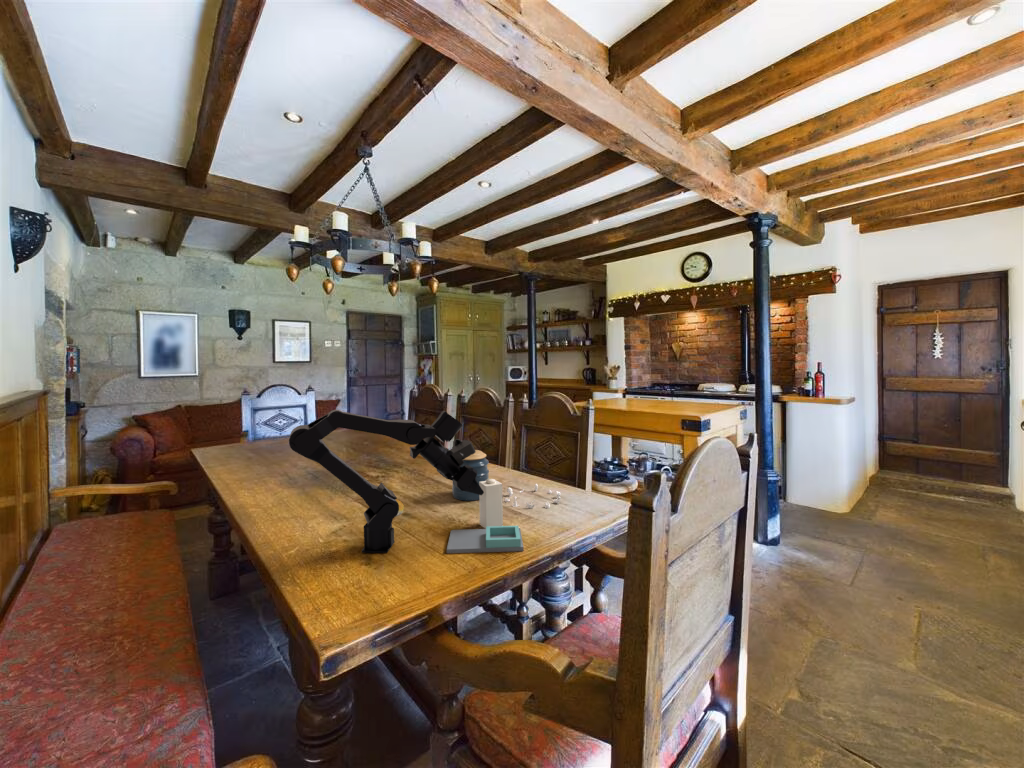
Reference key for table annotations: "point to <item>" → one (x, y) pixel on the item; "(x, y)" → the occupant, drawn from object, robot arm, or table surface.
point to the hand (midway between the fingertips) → (476, 489)
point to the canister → (480, 466)
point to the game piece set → (534, 500)
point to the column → (491, 503)
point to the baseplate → (485, 540)
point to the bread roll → (400, 507)
